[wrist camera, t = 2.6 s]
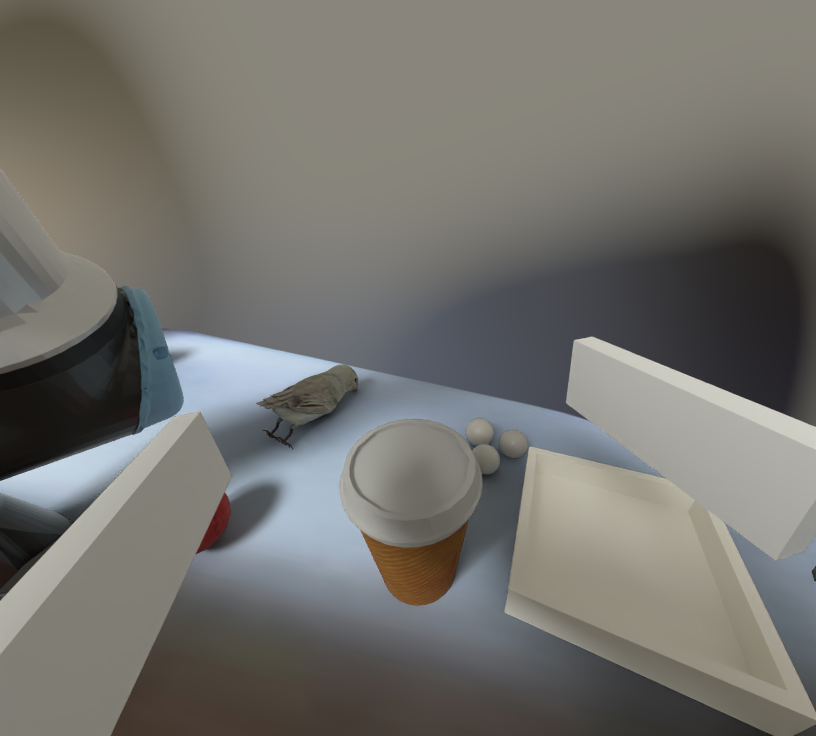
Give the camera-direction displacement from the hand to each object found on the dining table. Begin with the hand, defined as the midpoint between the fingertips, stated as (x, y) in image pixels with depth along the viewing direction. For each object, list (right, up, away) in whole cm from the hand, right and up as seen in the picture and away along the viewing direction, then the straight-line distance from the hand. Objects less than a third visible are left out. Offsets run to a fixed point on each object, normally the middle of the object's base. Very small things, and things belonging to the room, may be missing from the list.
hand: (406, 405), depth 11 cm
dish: (+17, -14, +14) cm, 26 cm away
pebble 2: (+9, -10, +23) cm, 26 cm away
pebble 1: (+9, -8, +27) cm, 29 cm away
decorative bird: (-13, -6, +34) cm, 37 cm away
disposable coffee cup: (+1, -15, +15) cm, 21 cm away
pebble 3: (+12, -9, +25) cm, 29 cm away
